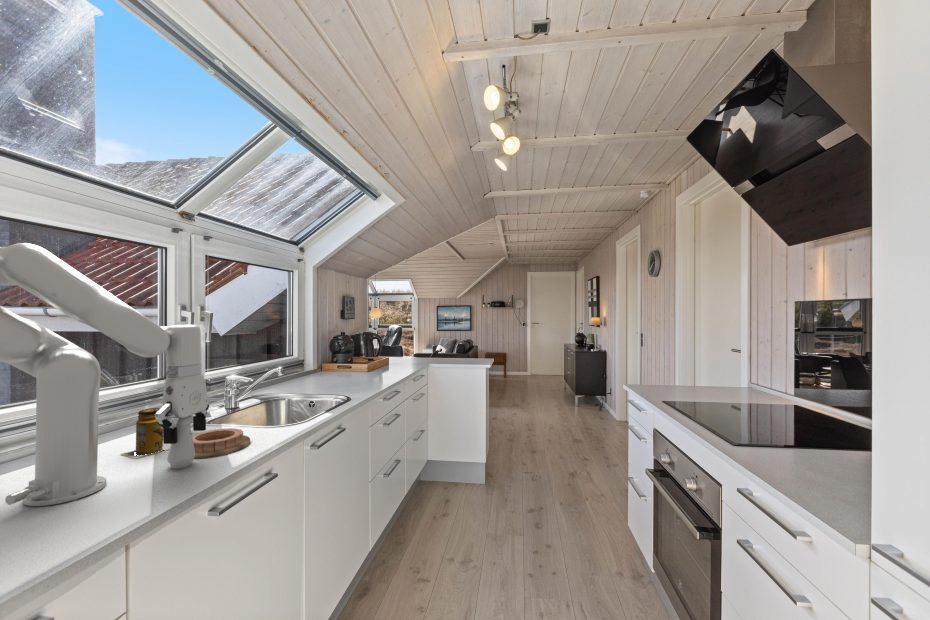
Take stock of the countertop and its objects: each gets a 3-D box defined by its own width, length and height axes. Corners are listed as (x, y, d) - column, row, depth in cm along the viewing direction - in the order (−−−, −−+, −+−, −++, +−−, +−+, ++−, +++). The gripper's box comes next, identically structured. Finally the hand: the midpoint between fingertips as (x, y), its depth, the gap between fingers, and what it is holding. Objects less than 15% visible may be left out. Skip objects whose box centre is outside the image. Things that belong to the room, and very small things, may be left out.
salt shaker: (183, 470, 96) (184, 419, 96) (161, 470, 96) (162, 418, 96) (200, 461, 102) (201, 413, 102) (179, 461, 102) (180, 412, 102)
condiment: (169, 449, 111) (170, 408, 111) (135, 459, 103) (136, 415, 104) (155, 446, 114) (155, 405, 114) (120, 455, 106) (121, 412, 106)
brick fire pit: (224, 459, 104) (224, 446, 104) (160, 457, 104) (160, 445, 104) (262, 438, 122) (262, 427, 122) (207, 437, 122) (208, 426, 122)
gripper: (171, 377, 91) (172, 449, 91) (220, 366, 108) (222, 426, 108) (140, 378, 91) (142, 449, 91) (195, 366, 108) (196, 426, 108)
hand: (185, 436), depth 100 cm, fingers open, 9 cm apart
